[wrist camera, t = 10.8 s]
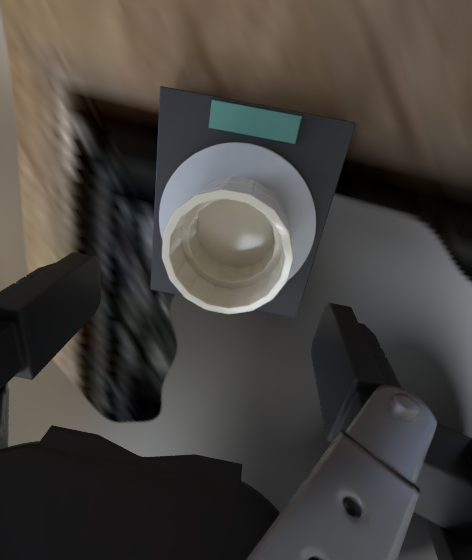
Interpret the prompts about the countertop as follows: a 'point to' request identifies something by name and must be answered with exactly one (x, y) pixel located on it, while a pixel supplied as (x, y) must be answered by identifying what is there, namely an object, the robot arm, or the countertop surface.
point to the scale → (249, 170)
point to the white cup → (229, 246)
